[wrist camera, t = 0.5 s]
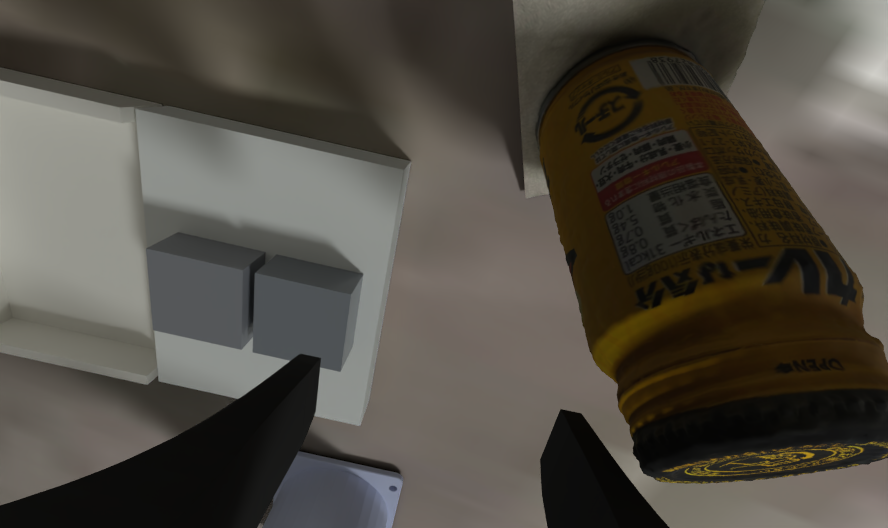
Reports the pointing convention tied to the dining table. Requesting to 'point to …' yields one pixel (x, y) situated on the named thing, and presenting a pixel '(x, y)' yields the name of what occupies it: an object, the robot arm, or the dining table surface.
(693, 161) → the condiment
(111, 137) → the tray
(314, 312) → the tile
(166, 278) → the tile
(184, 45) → the dining table surface
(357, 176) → the board
